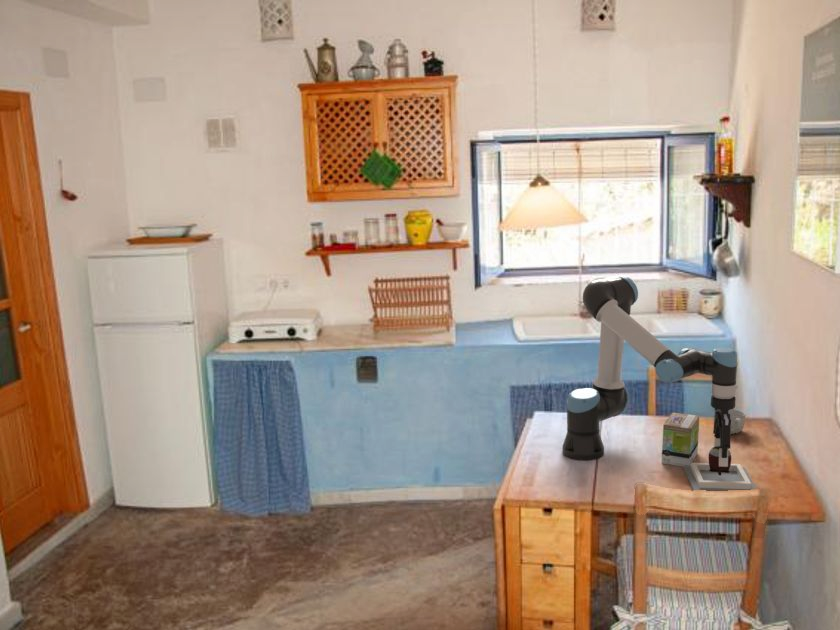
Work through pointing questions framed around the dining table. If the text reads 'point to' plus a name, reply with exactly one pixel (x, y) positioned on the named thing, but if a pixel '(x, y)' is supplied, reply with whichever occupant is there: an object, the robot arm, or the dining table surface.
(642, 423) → the dining table surface
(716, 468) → the mate gourd
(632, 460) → the dining table surface
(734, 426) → the teacup
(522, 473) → the dining table surface
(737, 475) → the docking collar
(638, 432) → the dining table surface
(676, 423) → the tea box
